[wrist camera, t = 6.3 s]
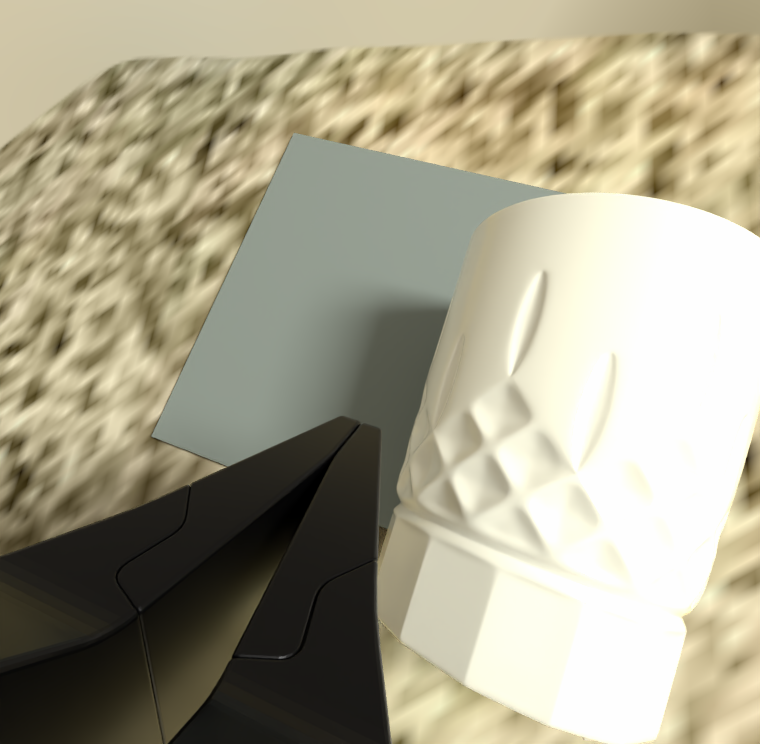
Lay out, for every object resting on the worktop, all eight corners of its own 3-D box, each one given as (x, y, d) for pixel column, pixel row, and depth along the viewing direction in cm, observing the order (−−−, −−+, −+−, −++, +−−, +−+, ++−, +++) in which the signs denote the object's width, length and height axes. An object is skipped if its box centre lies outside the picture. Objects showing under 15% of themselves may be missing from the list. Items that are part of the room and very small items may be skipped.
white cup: (621, 672, 14) (700, 362, 16) (785, 868, 7) (899, 241, 8) (377, 565, 16) (470, 301, 18) (293, 623, 9) (466, 161, 10)
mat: (646, 628, 15) (658, 635, 14) (163, 439, 19) (151, 436, 18) (729, 244, 18) (742, 232, 17) (299, 146, 22) (293, 132, 21)
